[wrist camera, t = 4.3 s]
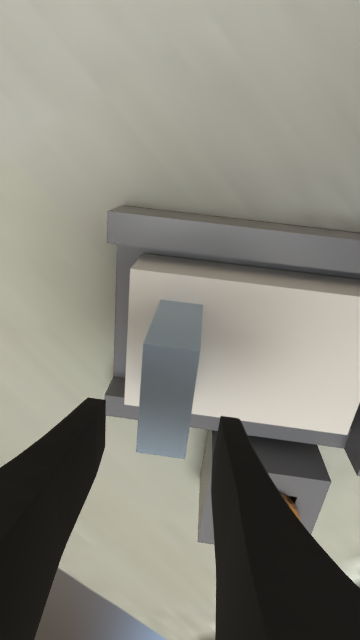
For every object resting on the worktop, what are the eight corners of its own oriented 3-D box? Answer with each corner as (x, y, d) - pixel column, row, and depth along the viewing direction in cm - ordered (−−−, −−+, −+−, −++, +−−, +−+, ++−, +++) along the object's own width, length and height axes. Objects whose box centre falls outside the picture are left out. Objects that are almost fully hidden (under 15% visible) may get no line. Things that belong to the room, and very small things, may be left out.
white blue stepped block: (368, 280, 18) (467, 349, 11) (328, 398, 21) (386, 511, 14) (143, 253, 19) (101, 303, 12) (136, 373, 22) (99, 470, 15)
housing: (418, 239, 18) (487, 262, 14) (321, 495, 26) (345, 564, 22) (122, 205, 19) (94, 216, 14) (114, 465, 27) (94, 526, 22)
